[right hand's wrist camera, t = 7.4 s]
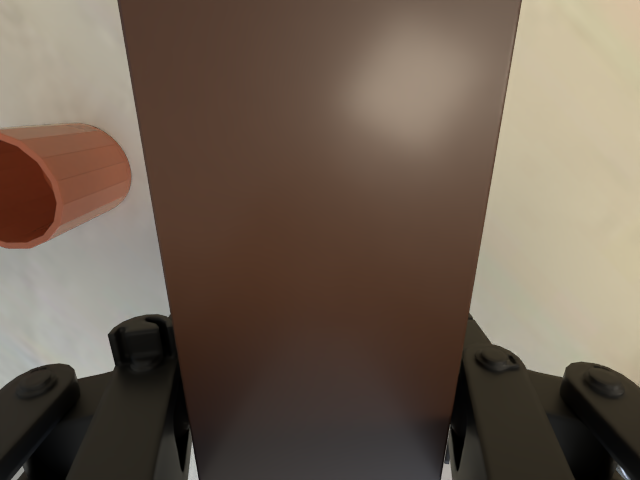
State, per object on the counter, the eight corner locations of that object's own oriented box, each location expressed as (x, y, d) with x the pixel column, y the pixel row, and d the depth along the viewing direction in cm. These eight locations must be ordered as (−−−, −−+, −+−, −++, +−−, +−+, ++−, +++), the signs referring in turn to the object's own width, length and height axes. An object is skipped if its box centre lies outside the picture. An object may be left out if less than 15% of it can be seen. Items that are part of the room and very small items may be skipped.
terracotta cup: (122, 123, 26) (44, 130, 19) (138, 211, 29) (75, 248, 21) (30, 123, 26) (-85, 130, 19) (54, 211, 29) (-39, 248, 21)
